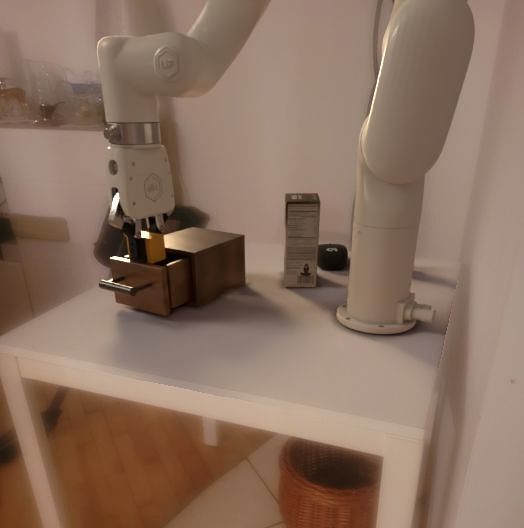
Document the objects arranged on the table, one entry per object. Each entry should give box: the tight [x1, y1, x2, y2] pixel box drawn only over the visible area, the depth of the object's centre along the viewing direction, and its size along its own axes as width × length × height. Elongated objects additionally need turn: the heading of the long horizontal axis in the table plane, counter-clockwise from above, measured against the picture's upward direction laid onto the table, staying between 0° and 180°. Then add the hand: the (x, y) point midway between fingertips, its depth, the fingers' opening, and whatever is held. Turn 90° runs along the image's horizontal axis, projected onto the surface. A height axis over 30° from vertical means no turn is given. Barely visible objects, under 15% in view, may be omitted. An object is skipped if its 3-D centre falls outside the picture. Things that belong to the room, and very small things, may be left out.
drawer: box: [98, 252, 194, 317], centre depth 83 cm, size 18×11×8 cm, turn 147°
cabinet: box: [163, 226, 247, 308], centre depth 90 cm, size 15×13×10 cm
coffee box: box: [283, 192, 322, 288], centre depth 93 cm, size 9×6×16 cm
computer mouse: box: [317, 242, 349, 271], centre depth 107 cm, size 8×12×4 cm, turn 179°
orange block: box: [125, 230, 166, 264], centre depth 79 cm, size 5×3×4 cm, turn 58°
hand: (147, 257), depth 80 cm, fingers closed on orange block, 3 cm apart
